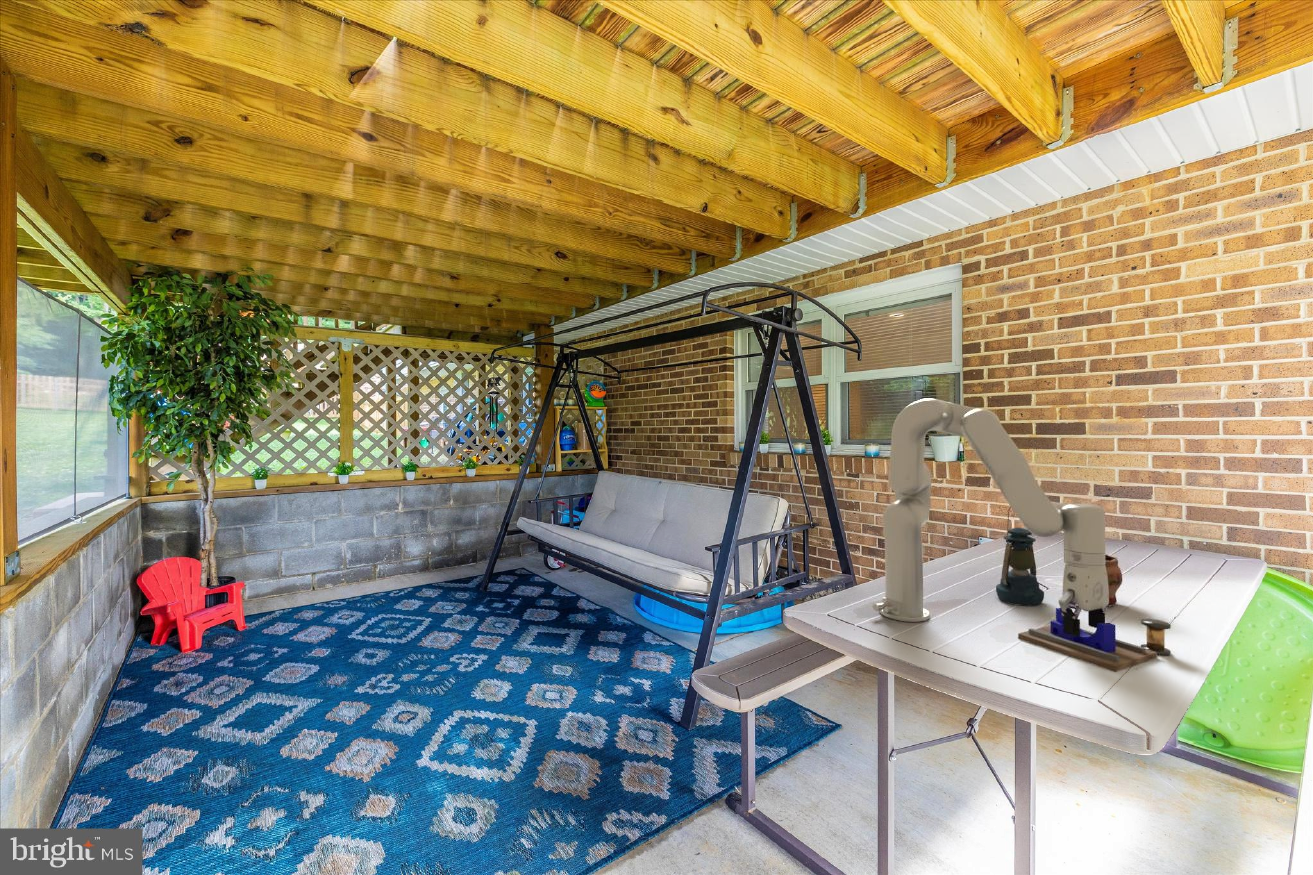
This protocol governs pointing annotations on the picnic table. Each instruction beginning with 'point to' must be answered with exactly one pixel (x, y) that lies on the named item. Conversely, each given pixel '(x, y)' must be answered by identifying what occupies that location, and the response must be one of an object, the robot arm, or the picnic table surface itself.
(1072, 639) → the blue cradle block
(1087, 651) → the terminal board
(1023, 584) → the lantern
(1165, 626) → the copper spool
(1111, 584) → the decorative planter
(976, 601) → the picnic table surface
